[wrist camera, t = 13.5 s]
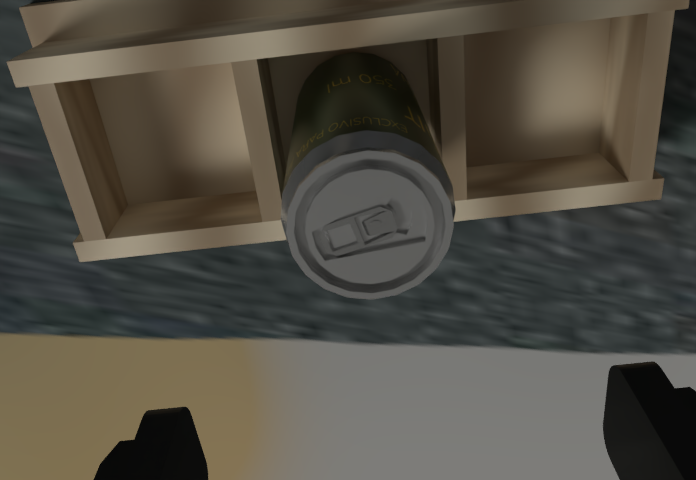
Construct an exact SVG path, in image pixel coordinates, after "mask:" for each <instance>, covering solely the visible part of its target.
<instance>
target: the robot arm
mask: <svg viewBox="0 0 696 480" xmlns="http://www.w3.org/2000/svg"><path fill="white" fill-rule="evenodd" d="M603 432H604V440H605V444H606V449H607V452H608V455H609V457H610V460H611V462H612V464H613V466H614V468H615V470H616V472H617V475H618V477H619V479H620V480H696V391H695V390H693V389H692V388H690V387H686V388H674V387H673V385H672V384H671V382H670V381H669V379H668V378H667V376H666V375H665V373H664V372H663V370H662V369H661V368H660V366H659V365H658V364H657V363H655V362H644V363H634V364H624V365H614V366H612V367H611V368H610V371H609V375H608V384H607V393H606V402H605V411H604V421H603ZM94 480H208V469H207V463H206V459H205V457H204V453H203V450H202V447H201V444H200V441H199V438H198V435H197V431H196V428H195V425H194V422H193V419H192V416H191V413H190V411H189V409H188V408H187V407H178V408H168V409H158V410H148V411H146V413H145V414H144V416H143V418H142V420H141V423H140V426H139V429H138V431H137V434H136V437H135V440H127V441H120V442H119V443H118V444H117V445H116V446H115V447H114V449H113V450H112V451H111V452H110V453H109V454H108V456H107V457H106V458H105V459H104V460H103V461H102V463H101V464H100V466H99V468H98V471H97V473H96V475H95V478H94Z"/></svg>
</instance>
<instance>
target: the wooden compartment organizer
mask: <svg viewBox="0 0 696 480" xmlns="http://www.w3.org/2000/svg"><path fill="white" fill-rule="evenodd" d="M688 7H689V0H57V1H49V2H41V3H32V4H27V5H25V6H22V7H19V9H20V12H21V15H22V18H23V21H24V24H25V27H26V29H27V32H28V35H29V38H30V41H31V44H32V47H33V48H32V49H30V50H28V51H26V52H24V53H22V54H20V55H19V56H17V57H15V58H13V59H11V60H9V61H7V64H8V67H9V70H10V72H11V75H12V78H13V81H14V83H15V86H16V87H25V86H29V89H30V91H31V94H32V97H33V100H34V103H35V106H36V108H37V111H38V114H39V117H40V120H41V122H42V125H43V128H44V131H45V134H46V136H47V139H48V142H49V145H50V148H51V150H52V153H53V156H54V159H55V162H56V165H57V167H58V170H59V173H60V176H61V179H62V181H63V184H64V187H65V190H66V193H67V195H68V198H69V201H70V204H71V207H72V209H73V212H74V215H75V218H76V221H77V223H78V226H79V229H80V234H79V235H78V237H77V238H76V239H75V241H74V242H73V244H74V247H75V250H76V253H77V255H78V258H79V261H80V262H85V261H94V260H104V259H113V258H122V257H131V256H141V255H150V254H159V253H168V252H178V251H187V250H196V249H205V248H214V247H224V246H233V245H242V244H251V243H261V242H270V241H279V240H286V236H285V233H284V229H283V226H282V222H281V219H280V218H281V205H282V193H283V186H284V180H285V174H286V168H287V161H288V155H289V149H290V143H291V137H292V130H293V124H294V118H295V112H296V105H297V99H298V96H299V93H300V91H301V89H302V86H303V84H304V82H305V80H306V79H307V77H308V76H309V75H310V74H311V73H312V72H313V71H314V70H315V68H316V67H317V66H318V65H320V64H322V63H323V62H325V61H327V60H329V59H330V58H332V57H334V56H337V55H341V54H346V53H351V52H360V53H369V54H375V55H377V56H379V57H381V58H383V59H385V60H387V61H390V62H391V63H392V64H393V65H395V66H396V67H397V68H398V69H399V70H400V71H401V72H402V73H403V74H404V75H405V77H406V79H407V81H408V82H409V84H410V86H411V88H412V90H413V92H414V95H415V97H416V99H417V102H418V104H419V106H420V109H421V111H422V114H423V116H424V118H425V121H426V123H427V126H428V128H429V130H430V133H431V135H432V138H433V140H434V142H435V145H436V147H437V150H438V152H439V154H440V157H441V159H442V162H443V164H444V166H445V169H446V171H447V174H448V176H449V178H450V181H451V183H452V186H453V193H454V201H455V208H456V211H455V216H454V220H453V222H454V221H464V220H473V219H482V218H491V217H501V216H510V215H519V214H528V213H538V212H547V211H556V210H565V209H574V208H584V207H593V206H602V205H611V204H621V203H630V202H639V201H648V200H658V199H661V196H662V189H663V182H664V178H663V177H662V176H661V175H660V174H659V173H657V172H656V171H655V170H654V163H655V156H656V148H657V141H658V133H659V126H660V118H661V111H662V103H663V96H664V88H665V81H666V73H667V66H668V58H669V51H670V43H671V36H672V28H673V21H674V13H675V10H680V9H688Z"/></svg>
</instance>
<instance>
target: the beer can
mask: <svg viewBox="0 0 696 480" xmlns="http://www.w3.org/2000/svg"><path fill="white" fill-rule="evenodd" d="M455 211H456V208H455V201H454V193H453V186H452V183H451V181H450V178H449V176H448V174H447V171H446V169H445V166H444V164H443V162H442V159H441V157H440V154H439V152H438V150H437V147H436V145H435V142H434V140H433V138H432V135H431V133H430V130H429V128H428V126H427V123H426V121H425V118H424V116H423V114H422V111H421V109H420V106H419V104H418V102H417V99H416V97H415V95H414V92H413V90H412V88H411V86H410V84H409V82H408V81H407V79H406V77H405V75H404V74H403V73H402V72H401V71H400V70H399V69H398V68H397V67H396V66H395V65H393V64H392V63H391V62H390V61H387V60H385V59H383V58H381V57H379V56H377V55H375V54H369V53H360V52H351V53H346V54H341V55H337V56H334V57H332V58H330V59H329V60H327V61H325V62H323V63H322V64H320V65H318V66H317V67H316V68H315V70H314V71H313V72H312V73H311V74H310V75H309V76H308V77H307V79H306V80H305V82H304V84H303V86H302V89H301V91H300V93H299V96H298V99H297V105H296V112H295V118H294V124H293V130H292V137H291V143H290V149H289V155H288V161H287V168H286V174H285V180H284V186H283V193H282V205H281V218H280V219H281V222H282V226H283V229H284V233H285V236H286V240H287V243H288V244H289V246H290V250H291V253H292V256H293V258H294V259H295V260H296V262H297V263H298V265H299V266H300V268H301V269H302V270H303V272H304V273H305V275H306V276H308V277H309V278H310V279H312V280H313V281H314V282H316V283H317V284H319V285H320V286H321V287H323V288H324V289H326V290H329V291H331V292H334V293H337V294H339V295H342V296H345V297H348V298H360V299H377V298H383V297H389V296H394V295H398V294H400V293H402V292H404V291H406V290H408V289H410V288H412V287H414V286H416V285H419V284H420V283H421V282H422V281H423V280H424V279H425V278H426V277H428V276H429V275H430V274H431V273H432V272H433V271H434V270H436V269H437V267H438V265H439V264H440V262H441V260H442V259H443V257H444V256H445V254H446V252H447V251H448V249H449V245H450V241H451V236H452V232H453V227H454V223H453V220H454V216H455Z"/></svg>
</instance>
